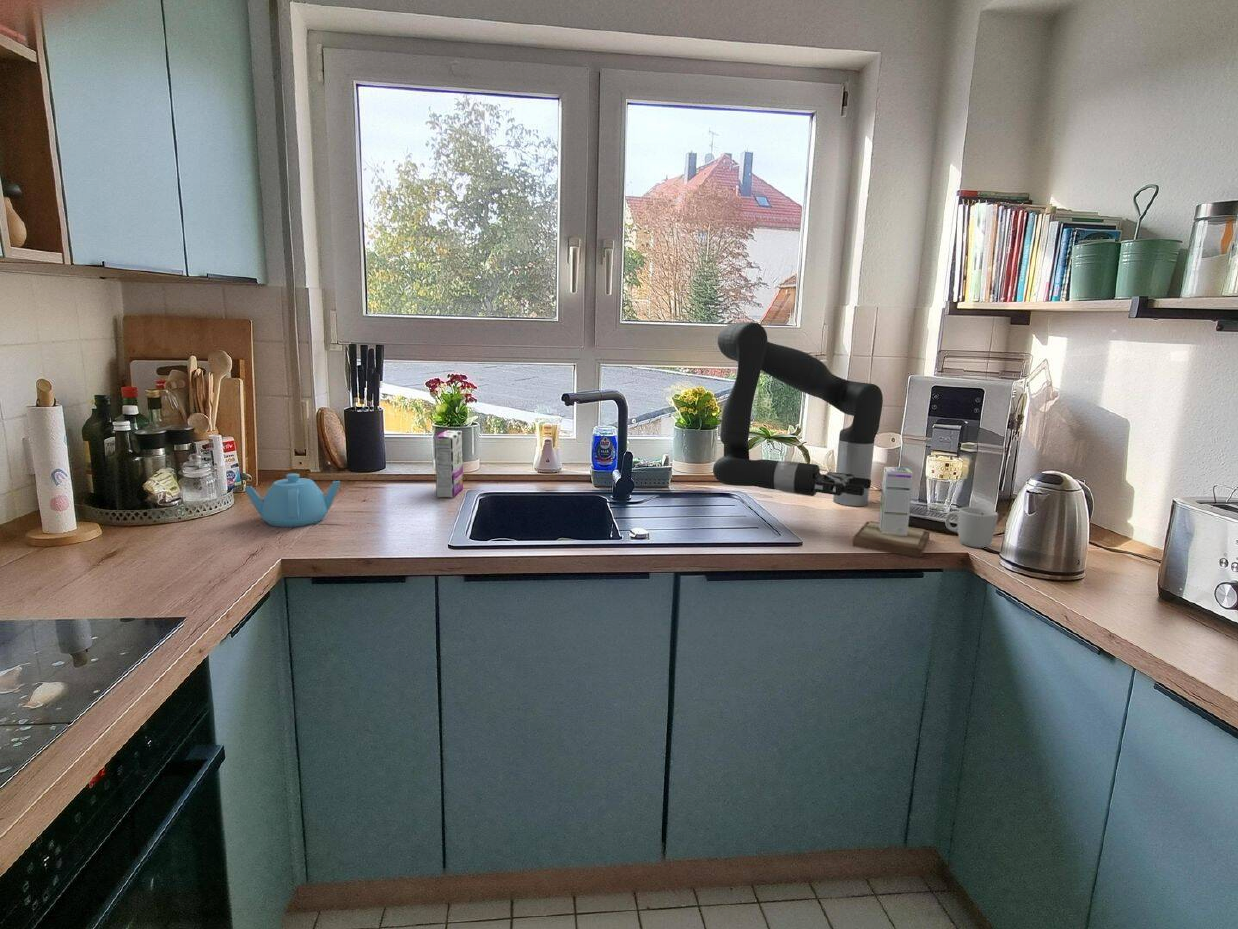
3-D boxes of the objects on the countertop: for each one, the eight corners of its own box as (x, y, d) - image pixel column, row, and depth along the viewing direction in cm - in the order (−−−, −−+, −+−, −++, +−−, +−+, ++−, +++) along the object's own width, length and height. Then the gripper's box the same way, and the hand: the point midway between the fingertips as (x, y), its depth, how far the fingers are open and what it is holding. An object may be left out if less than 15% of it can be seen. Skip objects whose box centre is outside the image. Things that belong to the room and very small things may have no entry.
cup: (937, 541, 163) (941, 507, 161) (949, 535, 169) (953, 502, 167) (987, 553, 156) (992, 517, 154) (998, 545, 162) (1003, 511, 160)
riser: (866, 529, 171) (867, 519, 170) (928, 539, 164) (930, 529, 164) (852, 546, 157) (853, 535, 157) (920, 557, 151) (921, 546, 150)
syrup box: (907, 536, 157) (915, 472, 154) (879, 534, 158) (886, 470, 155) (903, 529, 162) (911, 467, 160) (876, 527, 164) (883, 465, 161)
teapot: (241, 524, 158) (237, 476, 156) (293, 508, 172) (291, 465, 170) (295, 533, 153) (292, 484, 151) (344, 516, 167) (342, 471, 165)
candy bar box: (445, 488, 198) (444, 429, 195) (463, 488, 198) (463, 430, 195) (434, 497, 187) (433, 436, 184) (453, 498, 187) (453, 436, 184)
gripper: (789, 467, 162) (863, 476, 155) (805, 458, 174) (874, 466, 167) (787, 499, 164) (859, 509, 156) (802, 487, 176) (871, 497, 168)
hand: (867, 487), depth 162 cm, fingers open, 8 cm apart
